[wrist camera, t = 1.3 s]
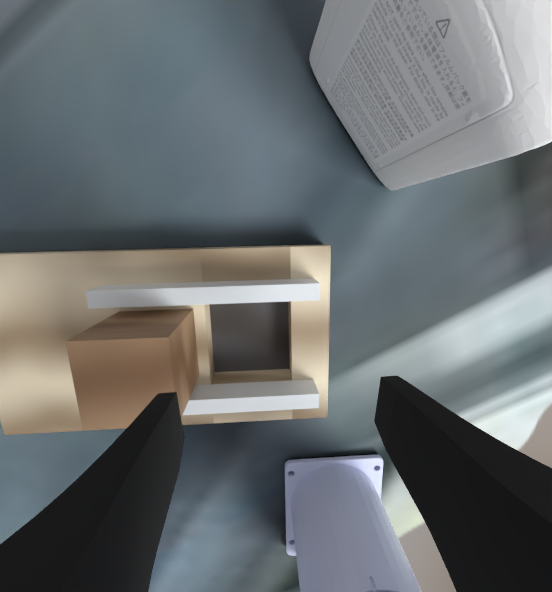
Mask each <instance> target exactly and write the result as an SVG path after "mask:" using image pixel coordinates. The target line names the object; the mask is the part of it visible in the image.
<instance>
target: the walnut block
mask: <svg viewBox="0 0 552 592" xmlns="http://www.w3.org/2000/svg"><path fill="white" fill-rule="evenodd" d="M65 343H66V348H67V353H68V358H69V363H70V368H71V373H72V378H73V383H74V388H75V393H76V398H77V403H78V408H79V413H80V418H81V423H82V428H83V430H92V429H110V428H128V426H129V425H130V424H131V423H132V422H133V421H134V420H135V419H136V417H137V416H138V415H139V414H140V413H141V412H142V411H143V410H144V408H145V407H146V406H147V405H148V404H149V403H150V402H151V401H152V399H153V398H154V397H155V396H156V395H157V394H158V393H169V392H177V397H178V403H179V409H180V415H181V417H182V415H183V413H184V410H185V408H186V406H187V403H188V401H189V398H190V396H191V394H192V391H193V389H194V387H195V384H196V382H197V380H198V377H199V366H198V355H197V344H196V333H195V322H194V311H193V309H174V310H147V311H119V312H117V313H115V314H113V315H112V316H110V317H108V318H106V319H104V320H103V321H101V322H99V323H97V324H96V325H94V326H92V327H90V328H88V329H87V330H85V331H83V332H81V333H80V334H78V335H76V336H74V337H72V338H71V339H69V340H67V341H65Z"/></svg>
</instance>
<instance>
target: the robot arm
mask: <svg viewBox="0 0 552 592" xmlns="http://www.w3.org/2000/svg"><path fill="white" fill-rule="evenodd" d="M375 424H376V426H377V429H378V431H379V434H380V437H381V439H382V441H383V444H384V446H385V449H386V451H387V452H388V454H389V456H390V458H391V460H392V462H393V464H394V466H395V467H396V469H397V471H398V473H399V475H400V477H401V478H402V480H403V482H404V484H405V486H406V488H407V489H408V491H409V493H410V495H411V497H412V498H413V500H414V502H415V504H416V506H417V508H418V509H419V511H420V513H421V515H422V517H423V519H424V521H425V523H426V525H427V526H428V528H429V530H430V532H431V534H432V537H433V539H434V541H435V543H436V546H437V548H438V550H439V552H440V554H441V557H442V559H443V561H444V563H445V565H446V568H447V570H448V572H449V574H450V577H451V579H452V582H453V584H454V586H455V589H456V591H457V592H552V468H550V467H548V466H546V465H544V464H542V463H540V462H538V461H536V460H534V459H532V458H530V457H529V456H527V455H525V454H523V453H521V452H519V451H517V450H515V449H514V448H512V447H510V446H508V445H506V444H504V443H503V442H501V441H499V440H497V439H496V438H494V437H492V436H490V435H489V434H487V433H485V432H484V431H482V430H480V429H479V428H477V427H475V426H474V425H472V424H471V423H469V422H467V421H466V420H464V419H463V418H461V417H459V416H458V415H456V414H455V413H453V412H452V411H450V410H449V409H447V408H446V407H444V406H442V405H441V404H439V403H438V402H436V401H435V400H433V399H432V398H431V397H429V396H428V395H426V394H425V393H423V392H422V391H420V390H419V389H417V388H416V387H414V386H413V385H411V384H410V383H408V382H407V381H405V380H403V379H402V378H400V377H398V376H386V377H381V380H380V387H379V394H378V400H377V407H376V414H375ZM183 443H184V433H183V427H182V421H181V415H180V409H179V403H178V397H177V392H169V393H158V394H157V395H156V396H155V397H154V398H153V399H152V401H151V402H150V403H149V404H148V405H147V406H146V407H145V408H144V410H143V411H142V412H141V413H140V414H139V415H138V416H137V417H136V419H135V420H134V421H133V422H132V423H131V424H130V425H129V426H128V428H127V429H126V430H125V431H124V432H123V433H122V434H121V435H120V436H119V437H118V438H117V439H116V440H115V442H114V443H113V444H112V445H111V446H110V447H109V448H108V449H107V450H106V451H105V452H104V453H103V454H102V455H101V456H100V457H99V458H98V459H97V460H96V461H95V462H94V463H93V464H92V465H91V466H90V467H89V468H88V469H87V470H86V471H85V472H84V473H83V474H82V475H81V476H80V477H79V478H78V479H77V480H76V481H75V482H74V483H73V484H71V485H70V486H69V487H68V488H67V489H66V490H65V491H64V492H63V493H62V494H60V495H59V496H58V497H57V498H56V499H55V500H54V501H53V502H51V503H50V504H49V505H48V506H47V507H46V508H45V509H43V510H42V511H41V512H40V513H39V514H38V515H36V516H35V517H34V518H33V519H32V520H30V521H29V522H28V523H27V524H25V525H24V526H23V527H22V528H20V529H19V530H18V531H17V532H15V533H14V534H13V535H12V536H10V537H9V538H8V539H7V540H5V541H4V542H3V543H2V544H0V592H148V589H149V584H150V579H151V574H152V569H153V565H154V561H155V557H156V552H157V548H158V545H159V541H160V538H161V534H162V530H163V527H164V523H165V520H166V516H167V512H168V509H169V505H170V502H171V498H172V494H173V491H174V487H175V483H176V480H177V476H178V472H179V468H180V462H181V456H182V450H183ZM377 465H378V466H377ZM375 466H377V467H375ZM290 471H293V472H290ZM382 473H383V459H382V457H381V456H380V455H360V456H344V457H327V458H311V459H295V460H288V461H287V462H286V463H285V510H286V551H287V554H289V555H292V556H293V555H296V558H297V567H298V575H299V584H300V592H422V591H421V588H420V586H419V584H418V582H417V579H416V577H415V575H414V573H413V571H412V569H411V566H410V564H409V562H408V559H407V557H406V555H405V553H404V551H403V548H402V546H401V544H400V542H399V539H398V537H397V535H396V533H395V531H394V528H393V526H392V524H391V522H390V519H389V517H388V515H387V513H386V511H385V508H384V506H383V504H382V502H381V488H382Z"/></svg>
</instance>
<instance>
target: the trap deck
mask: <svg viewBox="0 0 552 592" xmlns="http://www.w3.org/2000/svg"><path fill="white" fill-rule="evenodd" d="M330 254H331V246H329V245H324V244H319V245H281V246H243V247H206V248H168V249H130V250H92V251H54V252H16V253H0V421H1V425H2V429H3V432H4V435H13V434H31V433H49V432H67V431H86V430H83V428H82V423H81V418H80V413H79V408H78V403H77V398H76V393H75V388H74V383H73V378H72V373H71V368H70V363H69V358H68V353H67V348H66V343H65V341H67V340H69V339H71V338H72V337H74V336H76V335H78V334H80V333H81V332H83V331H85V330H87V329H88V328H90V327H92V326H94V325H96V324H97V323H99V322H101V321H103V320H104V319H106V318H108V317H110V316H112V315H113V314H115V313H117V312H119V311H147V310H174V309H193V311H194V322H195V333H196V344H197V355H198V366H199V377H198V380H197V382H196V384H195V385H207V384H228V383H248V382H269V381H289V380H309V379H314V381H315V384H316V387H317V390H318V392H319V408H311V409H292V410H274V411H255V412H237V413H218V414H199V415H182V417H181V421H182V425H194V424H212V423H230V422H248V421H266V420H284V419H302V418H320V417H327V416H328V362H329V308H330ZM308 278H315V279H316V280H317V281H318V282H319V283H320V300H316V301H288V302H260V303H232V304H205V305H177V306H149V307H121V308H93V309H88V304H87V299H86V293H85V291H87V290H90V289H93V288H96V287H99V286H102V285H121V284H152V283H183V282H215V281H246V280H277V279H308ZM110 429H122V428H110ZM92 430H104V429H92Z"/></svg>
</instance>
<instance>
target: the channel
mask: <svg viewBox="0 0 552 592" xmlns="http://www.w3.org/2000/svg"><path fill="white" fill-rule="evenodd" d="M85 293H86V299H87V304H88V309H93V308H121V307H149V306H177V305H205V304H232V303H260V302H288V301H316V300H320V283H319V282H318V281H317V280H316V279H315V278H308V279H277V280H246V281H215V282H183V283H152V284H121V285H102V286H99V287H96V288H93V289H90V290H87V291H85ZM311 408H319V392H318V390H317V387H316V384H315V381H314V379H309V380H289V381H269V382H248V383H228V384H207V385H195V387H194V389H193V391H192V394H191V396H190V398H189V401H188V403H187V406H186V408H185V410H184V413H183V415H199V414H218V413H237V412H255V411H274V410H292V409H311Z"/></svg>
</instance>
